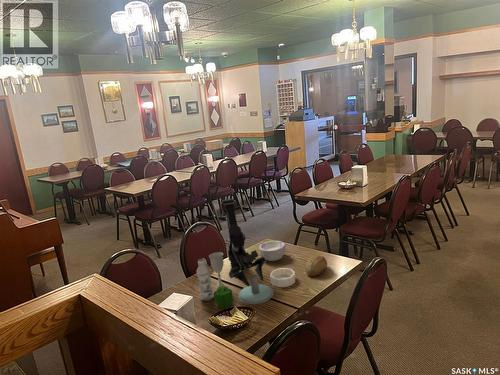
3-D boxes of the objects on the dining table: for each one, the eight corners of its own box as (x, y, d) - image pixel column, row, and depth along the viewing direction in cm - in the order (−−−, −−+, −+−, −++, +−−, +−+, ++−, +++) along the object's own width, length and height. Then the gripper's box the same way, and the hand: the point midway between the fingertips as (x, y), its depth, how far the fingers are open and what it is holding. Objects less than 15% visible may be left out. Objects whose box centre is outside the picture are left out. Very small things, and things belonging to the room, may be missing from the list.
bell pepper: (229, 312, 156) (226, 291, 154) (212, 309, 159) (209, 289, 157) (237, 301, 164) (234, 282, 161) (221, 299, 167) (218, 280, 165)
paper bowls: (258, 254, 213) (257, 242, 211) (283, 250, 214) (282, 238, 212) (262, 265, 198) (260, 252, 196) (288, 261, 199) (287, 248, 198)
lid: (237, 302, 162) (234, 284, 160) (243, 286, 176) (241, 269, 174) (269, 302, 159) (267, 284, 157) (273, 285, 173) (271, 268, 171)
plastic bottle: (201, 296, 172) (194, 258, 168) (214, 294, 172) (209, 256, 168) (200, 303, 166) (193, 264, 161) (214, 301, 166) (208, 262, 162)
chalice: (216, 293, 173) (211, 259, 169) (211, 287, 179) (206, 255, 175) (230, 288, 176) (225, 255, 173) (224, 283, 182) (220, 250, 179)
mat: (234, 305, 161) (234, 304, 161) (241, 286, 177) (241, 285, 177) (271, 304, 158) (271, 303, 158) (275, 285, 174) (275, 284, 174)
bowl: (269, 288, 172) (269, 279, 171) (272, 276, 184) (271, 268, 183) (294, 287, 170) (293, 279, 169) (295, 275, 181) (294, 267, 180)
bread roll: (332, 267, 186) (331, 253, 185) (319, 279, 175) (318, 265, 173) (315, 264, 192) (314, 250, 190) (302, 276, 181) (300, 261, 179)
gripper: (228, 252, 161) (244, 283, 154) (261, 240, 171) (278, 269, 164) (222, 263, 169) (237, 293, 162) (254, 251, 179) (269, 278, 172)
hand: (256, 283), depth 165 cm, fingers open, 7 cm apart
